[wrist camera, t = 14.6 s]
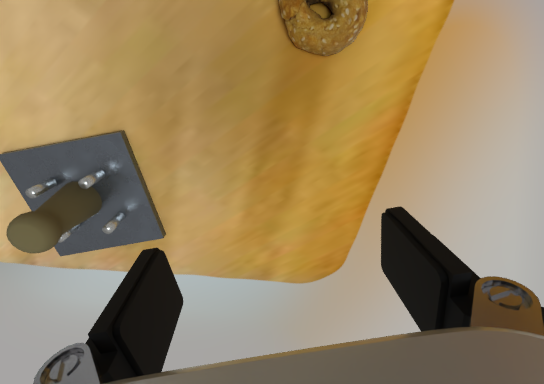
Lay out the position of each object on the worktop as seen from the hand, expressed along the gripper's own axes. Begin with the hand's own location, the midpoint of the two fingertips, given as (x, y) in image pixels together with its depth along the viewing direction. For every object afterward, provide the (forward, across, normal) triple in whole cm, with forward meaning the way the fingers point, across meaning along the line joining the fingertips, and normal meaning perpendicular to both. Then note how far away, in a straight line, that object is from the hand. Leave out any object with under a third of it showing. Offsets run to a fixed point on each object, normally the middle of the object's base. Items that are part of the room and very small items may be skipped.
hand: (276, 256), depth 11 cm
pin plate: (+30, +29, +6) cm, 42 cm away
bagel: (+31, -10, -13) cm, 35 cm away
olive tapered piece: (+29, +30, +6) cm, 42 cm away
